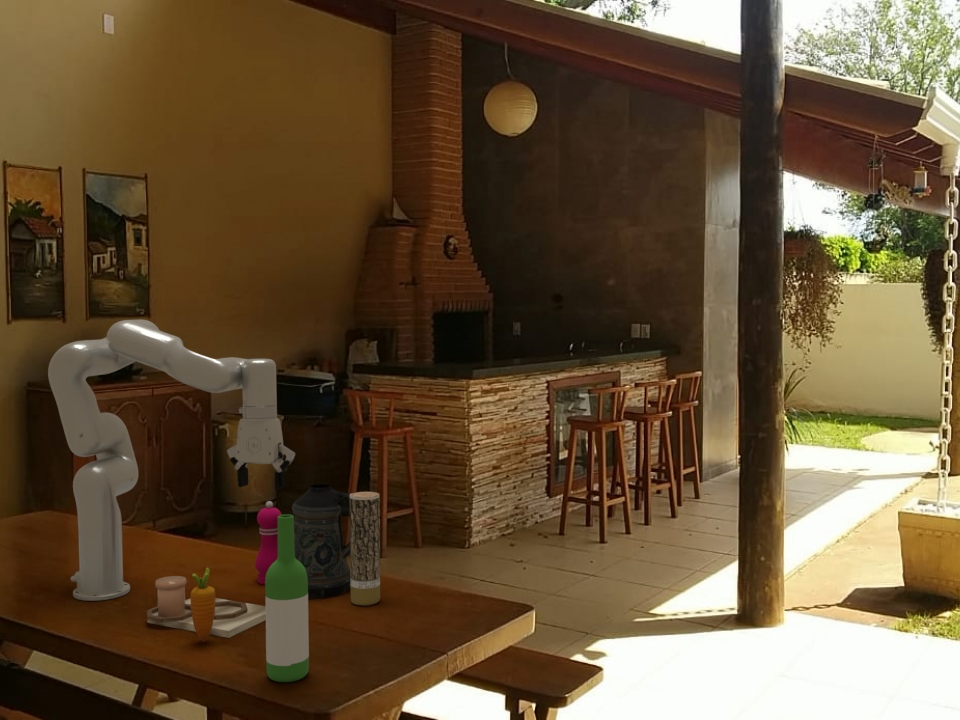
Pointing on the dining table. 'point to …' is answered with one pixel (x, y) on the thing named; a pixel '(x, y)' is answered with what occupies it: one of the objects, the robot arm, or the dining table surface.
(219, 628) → the stand
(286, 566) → the wine bottle
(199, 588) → the carrot
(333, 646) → the dining table surface
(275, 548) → the pepper mill
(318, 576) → the beer stein
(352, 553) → the paper tube
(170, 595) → the pink lidded jar
